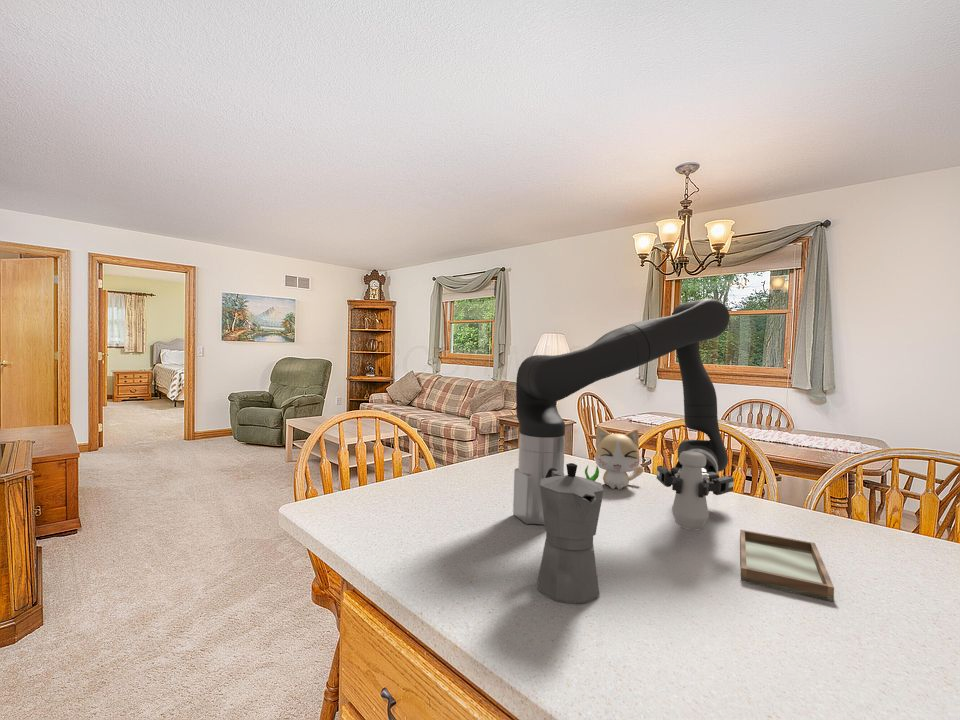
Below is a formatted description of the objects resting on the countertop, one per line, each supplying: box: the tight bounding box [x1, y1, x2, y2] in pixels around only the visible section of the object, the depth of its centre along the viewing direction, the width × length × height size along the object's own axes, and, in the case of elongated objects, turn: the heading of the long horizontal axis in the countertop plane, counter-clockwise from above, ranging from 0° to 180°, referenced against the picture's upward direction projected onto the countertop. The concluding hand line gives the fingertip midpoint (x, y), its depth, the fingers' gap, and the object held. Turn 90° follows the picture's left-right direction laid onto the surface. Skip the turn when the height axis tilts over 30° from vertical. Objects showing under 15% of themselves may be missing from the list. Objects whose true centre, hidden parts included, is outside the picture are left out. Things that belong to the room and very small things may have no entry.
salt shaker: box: [671, 451, 709, 531], centre depth 83 cm, size 6×6×13 cm
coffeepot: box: [536, 462, 604, 605], centre depth 69 cm, size 15×9×18 cm, turn 13°
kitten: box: [584, 426, 644, 491], centre depth 122 cm, size 15×10×15 cm, turn 76°
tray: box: [739, 529, 835, 603], centre depth 77 cm, size 18×11×2 cm, turn 151°
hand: (689, 489), depth 80 cm, fingers closed on salt shaker, 3 cm apart
